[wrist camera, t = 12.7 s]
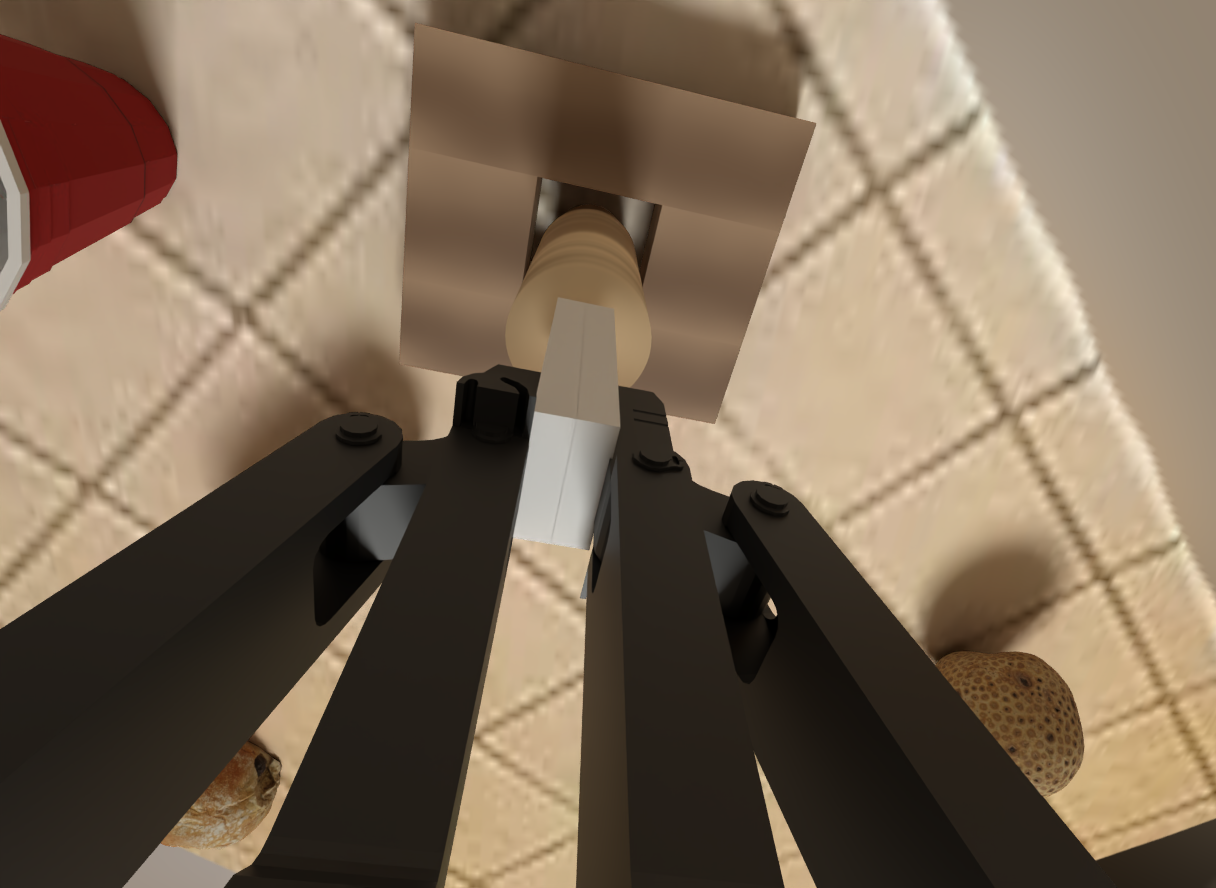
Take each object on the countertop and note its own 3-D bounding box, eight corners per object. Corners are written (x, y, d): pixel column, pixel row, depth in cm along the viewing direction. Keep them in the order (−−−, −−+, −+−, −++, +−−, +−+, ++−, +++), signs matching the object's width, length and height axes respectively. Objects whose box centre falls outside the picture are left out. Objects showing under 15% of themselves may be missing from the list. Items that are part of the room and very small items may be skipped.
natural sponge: (980, 589, 41) (1080, 721, 32) (1049, 648, 44) (1158, 784, 35) (871, 660, 44) (936, 797, 36) (942, 711, 47) (1018, 849, 39)
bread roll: (308, 749, 55) (306, 824, 48) (198, 822, 53) (179, 910, 46) (236, 682, 51) (222, 753, 44) (113, 757, 49) (78, 845, 42)
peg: (553, 186, 28) (515, 252, 16) (640, 205, 29) (667, 284, 17) (539, 274, 30) (497, 392, 18) (621, 291, 31) (632, 418, 19)
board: (434, 30, 25) (414, 22, 23) (796, 120, 27) (816, 123, 24) (415, 342, 32) (399, 364, 30) (706, 399, 34) (714, 423, 31)
